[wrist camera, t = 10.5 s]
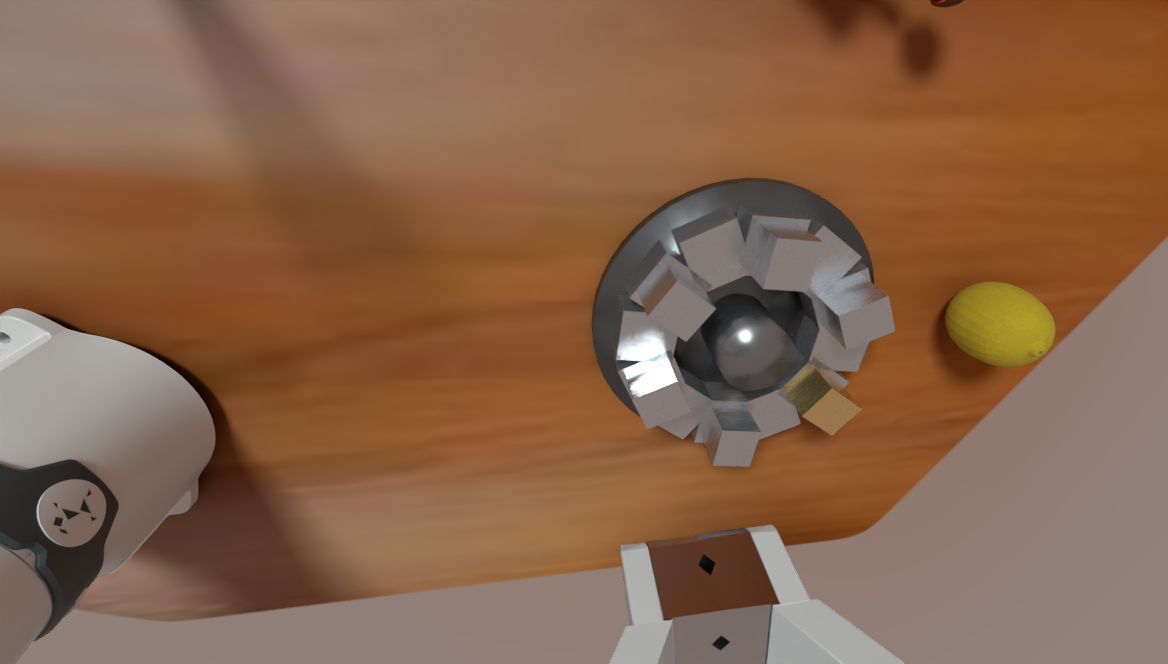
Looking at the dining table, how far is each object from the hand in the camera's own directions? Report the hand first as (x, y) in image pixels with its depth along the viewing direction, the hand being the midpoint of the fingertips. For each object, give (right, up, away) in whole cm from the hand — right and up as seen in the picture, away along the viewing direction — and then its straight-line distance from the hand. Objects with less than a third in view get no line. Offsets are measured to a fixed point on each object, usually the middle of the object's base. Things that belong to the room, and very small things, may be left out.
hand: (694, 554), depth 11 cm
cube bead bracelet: (+9, +5, +30) cm, 32 cm away
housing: (+9, +5, +31) cm, 33 cm away
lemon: (+27, +7, +32) cm, 42 cm away
